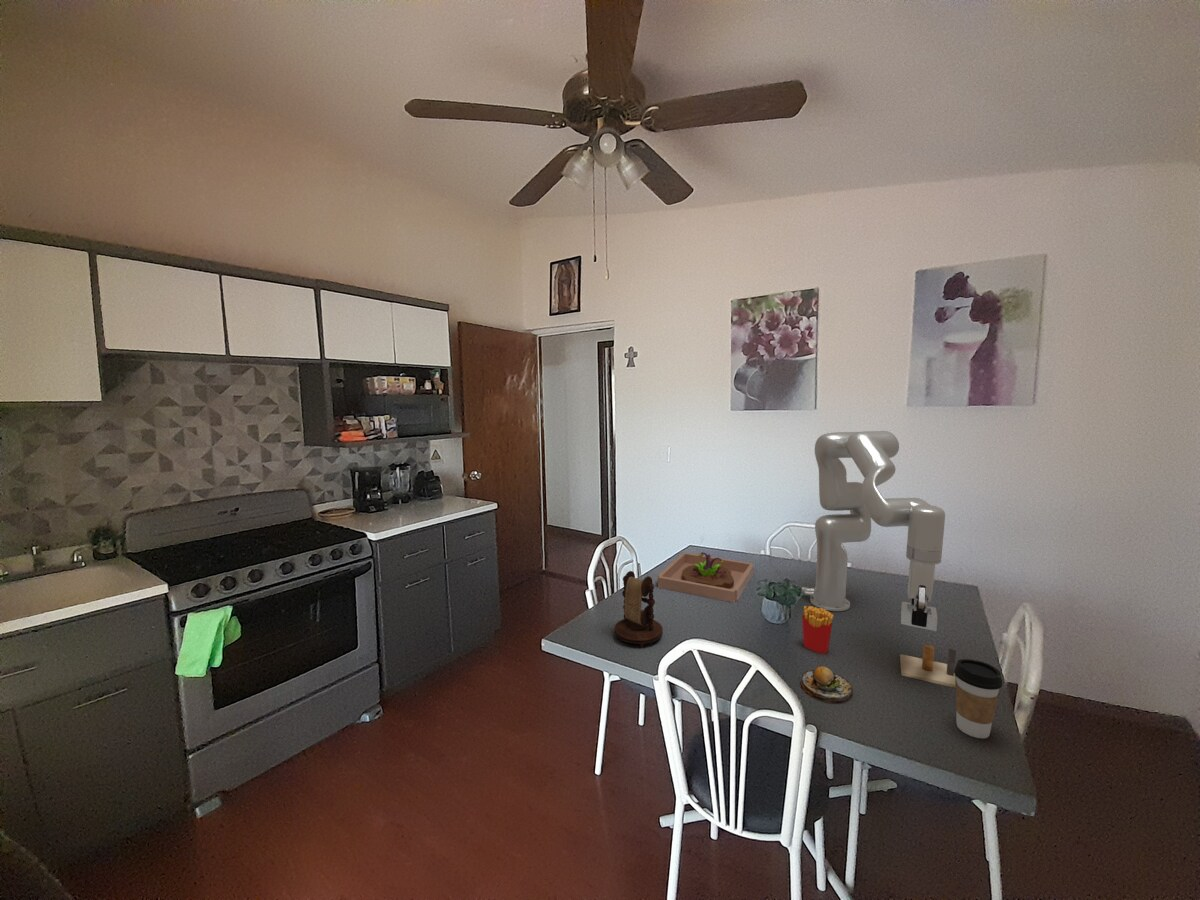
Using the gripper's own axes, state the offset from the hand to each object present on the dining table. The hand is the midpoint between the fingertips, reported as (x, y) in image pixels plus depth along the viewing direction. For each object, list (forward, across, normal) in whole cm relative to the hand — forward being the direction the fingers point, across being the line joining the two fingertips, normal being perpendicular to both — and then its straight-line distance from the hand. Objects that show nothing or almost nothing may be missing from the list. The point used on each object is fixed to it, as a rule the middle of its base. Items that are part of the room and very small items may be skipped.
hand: (918, 618), depth 129 cm
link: (+1, 0, 0) cm, 1 cm away
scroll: (+16, +18, -72) cm, 76 cm away
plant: (+16, -33, -68) cm, 77 cm away
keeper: (+15, -3, +3) cm, 16 cm away
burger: (+16, +18, -19) cm, 31 cm away
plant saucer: (+16, -33, -68) cm, 77 cm away
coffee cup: (+15, +18, +11) cm, 26 cm away
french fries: (+16, -1, -24) cm, 29 cm away
